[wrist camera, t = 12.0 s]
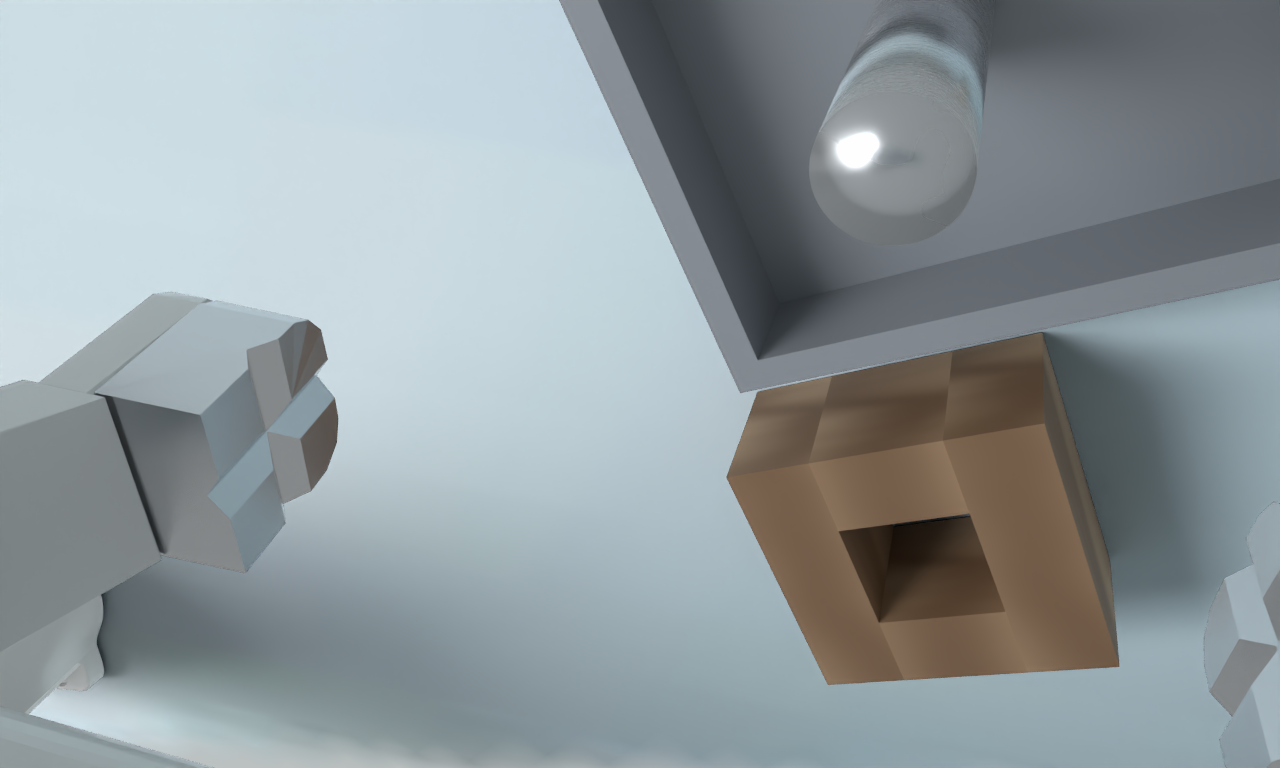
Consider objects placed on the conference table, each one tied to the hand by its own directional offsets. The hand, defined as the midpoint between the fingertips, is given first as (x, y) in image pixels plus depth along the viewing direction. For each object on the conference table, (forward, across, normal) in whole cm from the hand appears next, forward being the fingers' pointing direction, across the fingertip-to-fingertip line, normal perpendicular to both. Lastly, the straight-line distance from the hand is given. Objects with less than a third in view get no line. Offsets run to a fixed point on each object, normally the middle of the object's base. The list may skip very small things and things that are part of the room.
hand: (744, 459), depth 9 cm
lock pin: (+17, -1, 0) cm, 17 cm away
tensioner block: (+17, -4, +14) cm, 22 cm away
